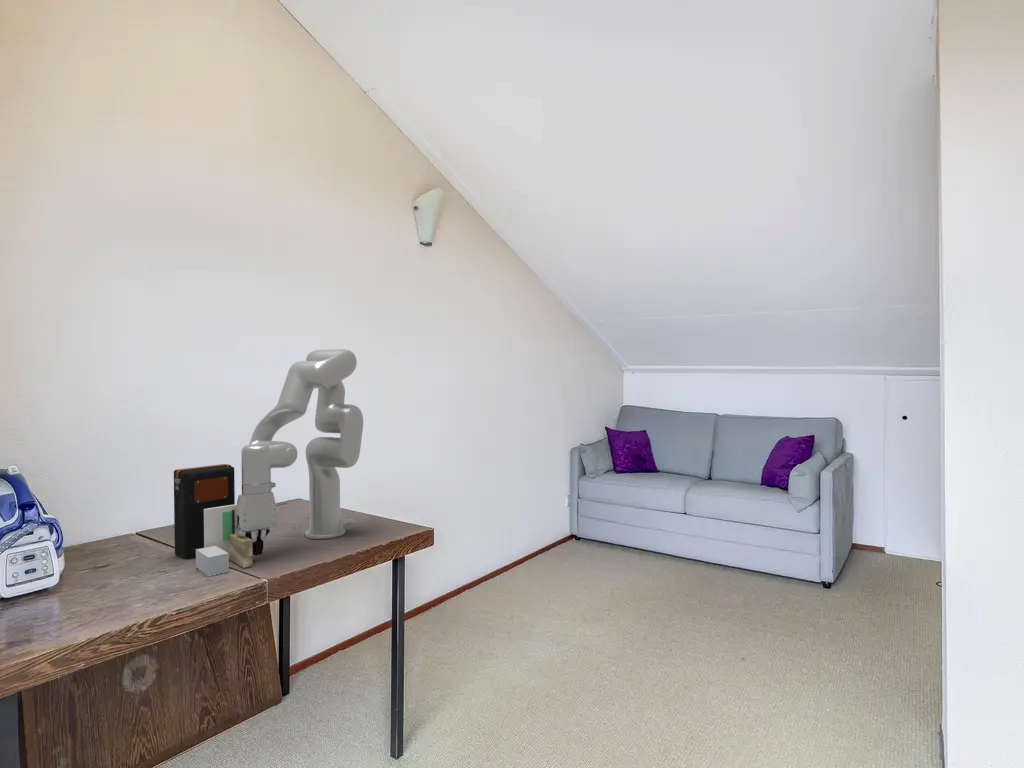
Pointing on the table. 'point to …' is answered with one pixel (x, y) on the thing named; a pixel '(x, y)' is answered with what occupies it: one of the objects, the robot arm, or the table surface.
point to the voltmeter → (198, 502)
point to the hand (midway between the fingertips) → (256, 554)
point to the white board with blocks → (216, 540)
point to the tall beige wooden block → (240, 548)
